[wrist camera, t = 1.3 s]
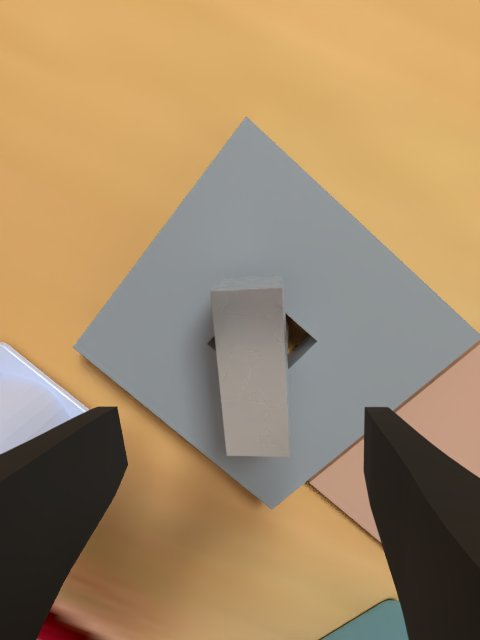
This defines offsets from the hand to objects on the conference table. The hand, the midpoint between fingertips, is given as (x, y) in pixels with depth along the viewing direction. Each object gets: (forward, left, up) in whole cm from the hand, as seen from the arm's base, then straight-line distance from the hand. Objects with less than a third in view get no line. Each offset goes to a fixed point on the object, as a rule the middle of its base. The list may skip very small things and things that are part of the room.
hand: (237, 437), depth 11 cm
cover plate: (0, 0, -10) cm, 10 cm away
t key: (0, 0, -10) cm, 10 cm away
